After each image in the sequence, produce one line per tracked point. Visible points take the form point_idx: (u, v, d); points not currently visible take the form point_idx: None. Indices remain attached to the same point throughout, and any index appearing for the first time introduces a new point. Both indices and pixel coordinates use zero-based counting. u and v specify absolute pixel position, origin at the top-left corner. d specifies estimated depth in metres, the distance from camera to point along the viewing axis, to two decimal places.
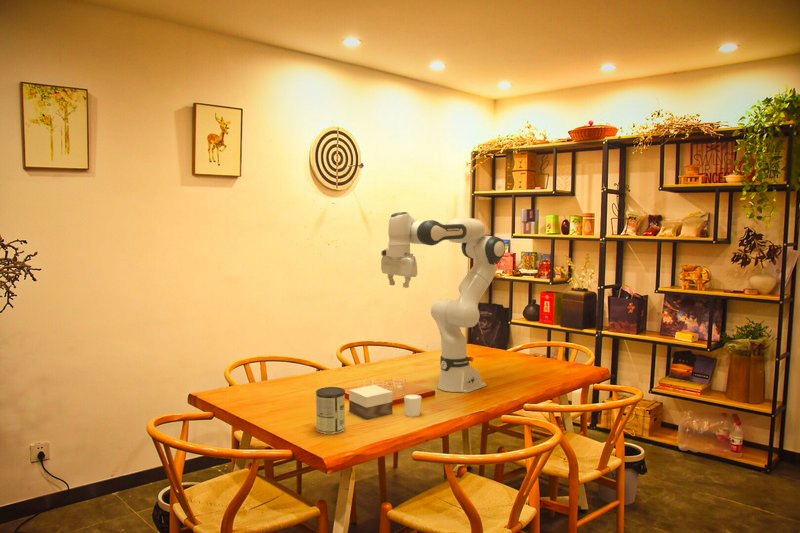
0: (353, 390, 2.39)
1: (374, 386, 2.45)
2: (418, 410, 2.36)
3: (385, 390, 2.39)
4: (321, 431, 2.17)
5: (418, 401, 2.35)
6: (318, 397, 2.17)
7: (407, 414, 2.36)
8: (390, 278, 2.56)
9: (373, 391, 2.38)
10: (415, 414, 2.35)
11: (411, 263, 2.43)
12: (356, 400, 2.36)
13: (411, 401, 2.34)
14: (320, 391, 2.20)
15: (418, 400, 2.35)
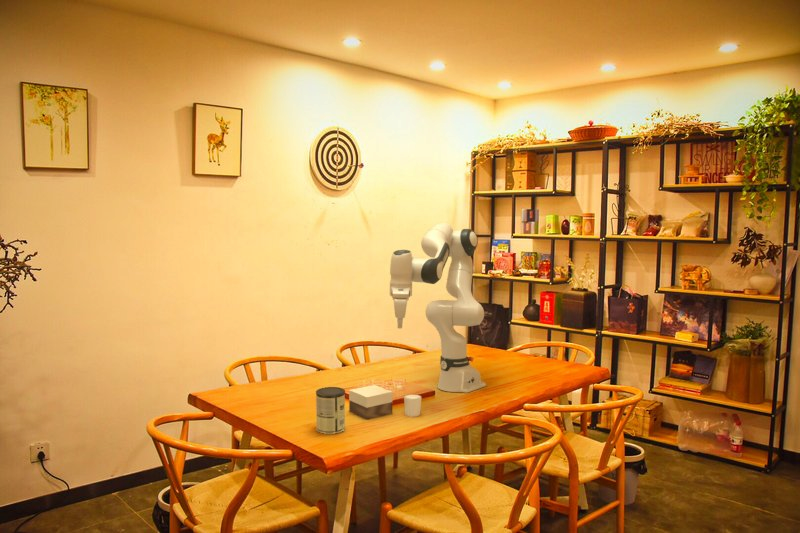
0: (353, 390, 2.39)
1: (374, 386, 2.45)
2: (418, 410, 2.36)
3: (385, 390, 2.39)
4: (321, 431, 2.17)
5: (418, 401, 2.35)
6: (318, 397, 2.17)
7: (407, 414, 2.36)
8: None
9: (373, 391, 2.38)
10: (415, 414, 2.35)
11: None
12: (357, 400, 2.36)
13: (411, 401, 2.34)
14: (320, 391, 2.20)
15: (418, 400, 2.35)
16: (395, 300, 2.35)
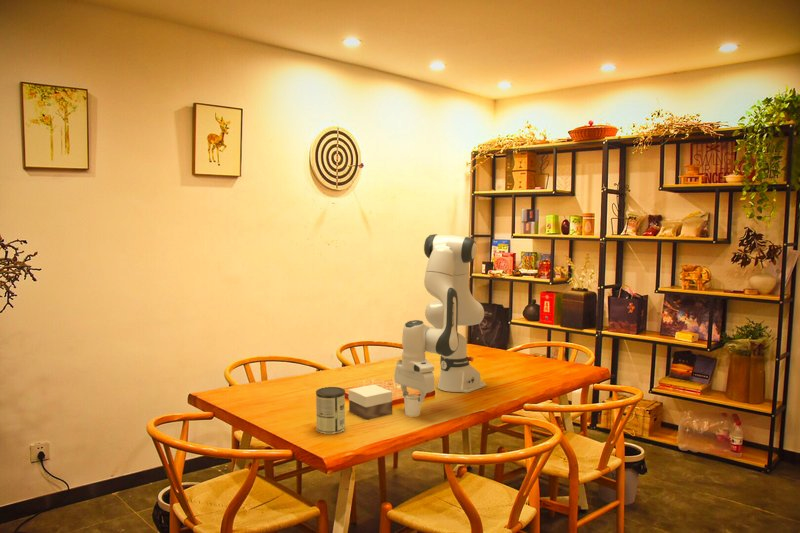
0: (352, 390, 2.39)
1: (373, 386, 2.45)
2: (418, 410, 2.36)
3: (384, 390, 2.40)
4: (321, 431, 2.17)
5: None
6: (318, 397, 2.17)
7: (407, 414, 2.36)
8: None
9: (373, 391, 2.38)
10: (415, 414, 2.35)
11: None
12: (356, 399, 2.36)
13: (411, 401, 2.34)
14: (320, 391, 2.20)
15: None
16: (424, 375, 2.28)
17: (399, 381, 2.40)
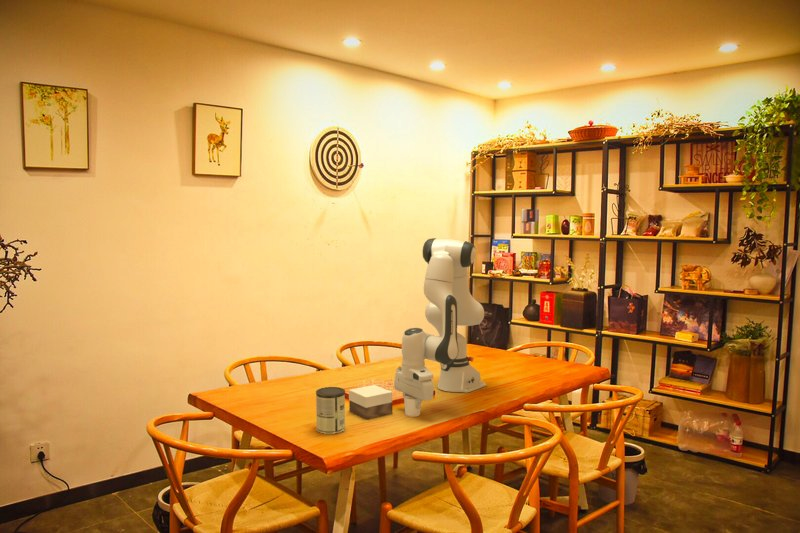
0: (352, 390, 2.39)
1: (374, 386, 2.45)
2: (418, 410, 2.36)
3: (385, 390, 2.39)
4: (321, 431, 2.17)
5: None
6: (318, 397, 2.17)
7: (407, 414, 2.36)
8: None
9: (373, 391, 2.38)
10: (415, 414, 2.35)
11: None
12: (356, 400, 2.36)
13: (411, 401, 2.34)
14: (320, 391, 2.20)
15: None
16: (423, 383, 2.29)
17: (399, 388, 2.41)
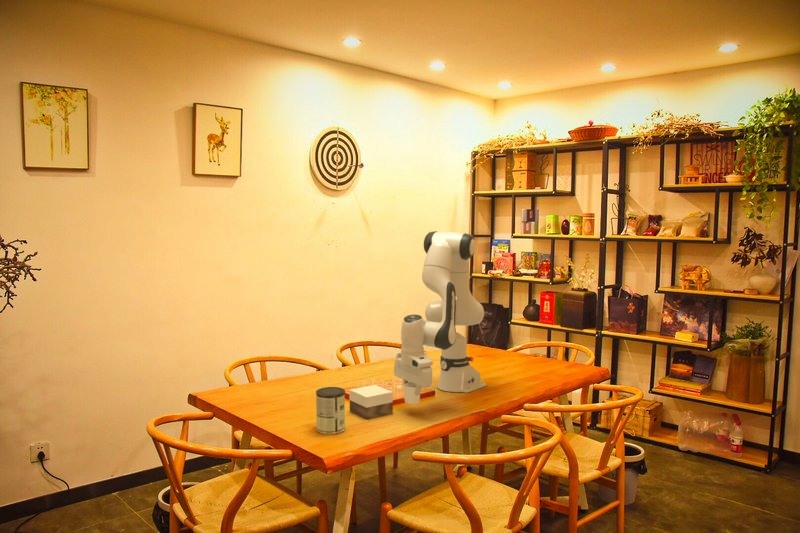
0: (353, 390, 2.39)
1: (374, 386, 2.45)
2: (417, 398, 2.36)
3: (385, 390, 2.39)
4: (321, 431, 2.17)
5: None
6: (318, 397, 2.17)
7: (406, 401, 2.37)
8: None
9: (373, 391, 2.38)
10: (414, 401, 2.36)
11: None
12: (357, 400, 2.36)
13: (410, 389, 2.35)
14: (320, 391, 2.20)
15: None
16: (422, 370, 2.29)
17: (398, 374, 2.42)
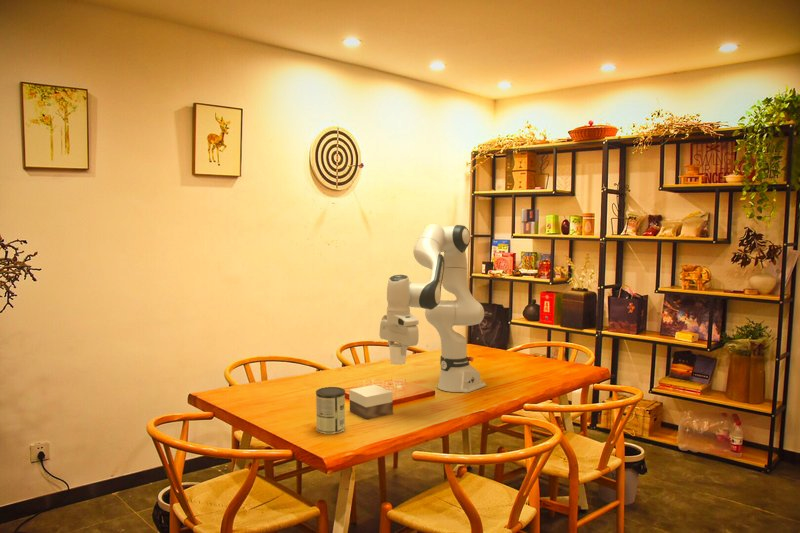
0: (353, 390, 2.39)
1: (374, 386, 2.45)
2: (403, 358, 2.34)
3: (385, 390, 2.39)
4: (321, 431, 2.17)
5: None
6: (318, 397, 2.17)
7: (392, 362, 2.35)
8: None
9: (373, 391, 2.38)
10: (400, 362, 2.34)
11: None
12: (356, 400, 2.36)
13: (396, 349, 2.33)
14: (320, 391, 2.20)
15: None
16: (409, 328, 2.27)
17: (384, 336, 2.40)
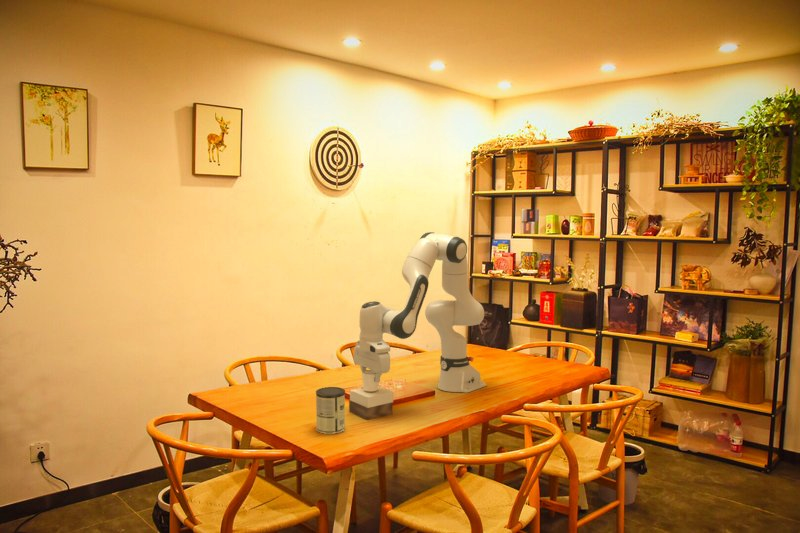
0: (353, 390, 2.39)
1: None
2: (376, 385, 2.37)
3: (386, 390, 2.39)
4: (321, 431, 2.17)
5: None
6: (318, 397, 2.17)
7: (365, 389, 2.37)
8: None
9: (374, 391, 2.38)
10: (373, 389, 2.36)
11: None
12: (358, 400, 2.36)
13: (369, 376, 2.35)
14: (320, 391, 2.20)
15: None
16: (380, 356, 2.29)
17: (357, 361, 2.42)
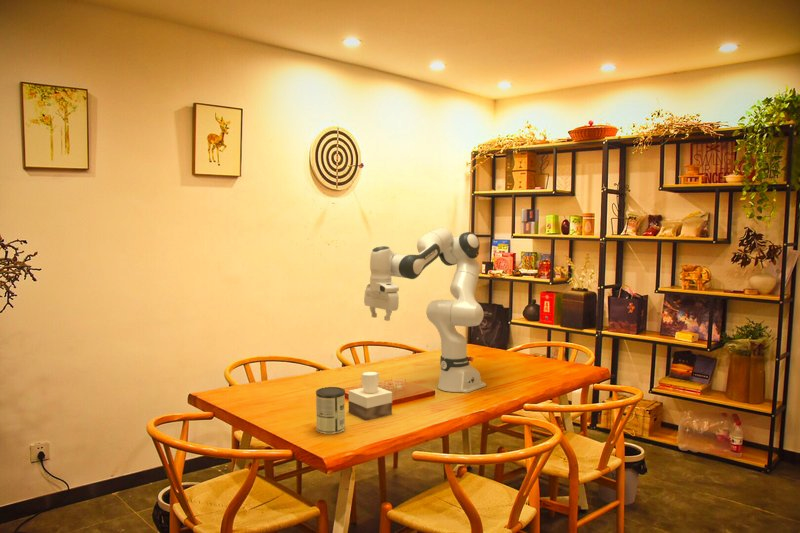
0: (352, 391, 2.38)
1: None
2: (375, 387, 2.36)
3: (385, 391, 2.39)
4: (321, 431, 2.17)
5: (374, 377, 2.35)
6: (318, 397, 2.17)
7: (364, 391, 2.37)
8: None
9: None
10: (372, 390, 2.35)
11: None
12: (356, 401, 2.35)
13: (367, 378, 2.35)
14: (320, 391, 2.20)
15: (374, 376, 2.35)
16: (389, 294, 2.48)
17: (368, 303, 2.61)
